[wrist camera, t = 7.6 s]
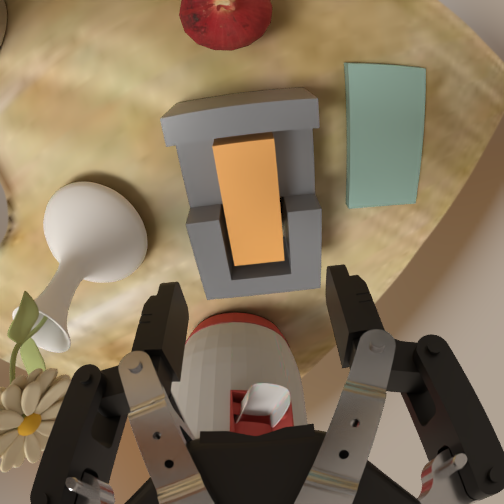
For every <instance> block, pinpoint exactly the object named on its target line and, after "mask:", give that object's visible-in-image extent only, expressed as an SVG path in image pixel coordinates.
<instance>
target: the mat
mask: <svg viewBox="0 0 504 504" xmlns="http://www.w3.org/2000/svg"><path fill="white" fill-rule="evenodd" d="M344 68H345V88H346V118H347V179H346V205H347V207H348V208H349V209H352V208H363V207H375V206H388V205H401V204H414V203H416V196H417V189H418V182H419V174H420V165H421V156H422V145H423V133H424V117H425V92H426V69H425V68H421V67H413V66H403V65H390V64H374V63H344Z"/></svg>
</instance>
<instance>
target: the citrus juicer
mask: <svg viewBox="0 0 504 504" xmlns="http://www.w3.org/2000/svg"><path fill="white" fill-rule="evenodd" d="M171 391H172V393H173V395H174V397H175V399H176V402H177V404H178V406H179V408H180V410H181V412H182V414H183V417H184V419H185V421H186V423H187V425H188V427H189V429H190V430H191V432H192V433H193V435H194V437H195V438H196V439H197V438H200V431H230V432H235V433H240V434H246V435H252V436H259V435H262V434H266V433H269V432H272V431H275V430H278V429H281V428H284V427H290V426H299V425H307V418H306V409H305V401H304V393H303V387H302V382H301V377H300V373H299V370H298V367H297V364H296V361H295V359H294V357H293V354H292V352H291V350H290V347H289V345H288V343H287V341H286V339H285V338H284V336H283V335H282V333H281V332H280V331H279V329H278V328H277V327H276V326H275V325H274V324H273V323H271V322H270V321H269V320H267V319H264V318H262V317H260V316H256V315H253V314H247V313H224V314H220V315H215V316H213V317H210V318H208V319H206V320H204V321H203V322H201V323H200V324H199V325H198V326H197V327H196V328H195V329H194V331H193V332H192V333H191V335H190V336H189V338H188V339H187V341H186V343H185V349H184V356H183V364H182V372H181V380H180V382H172V386H171Z"/></svg>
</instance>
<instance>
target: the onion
mask: <svg viewBox="0 0 504 504" xmlns="http://www.w3.org/2000/svg"><path fill="white" fill-rule="evenodd" d="M179 16H180V19H181V22H182V25H183V28H184V31H185V33H187V34H188V35H189V36H190V37H191V38H192V39H193V40H194V41H195V42H196V43H197V44H199V45H202V46H205V47H207V48H210V49H213V50H235V49H238V48H242V47H245V46H248V45H250V44H251V43H253V42H254V41H256V40H257V39H258V38H260V37H261V36H263V34H264V32H265V31H266V29H267V28H268V26H269V24H270V23H271V16H272V5H271V2H270V0H182V1H181V7H180V13H179Z"/></svg>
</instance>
